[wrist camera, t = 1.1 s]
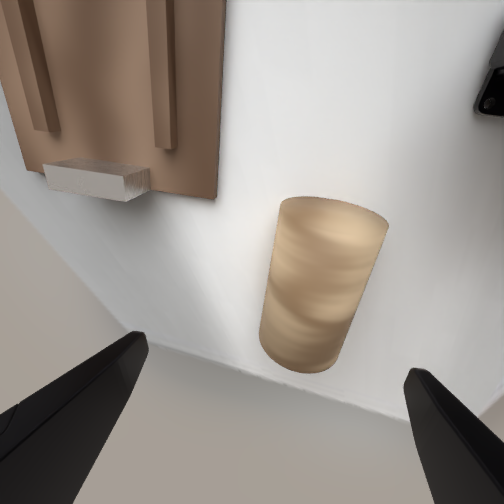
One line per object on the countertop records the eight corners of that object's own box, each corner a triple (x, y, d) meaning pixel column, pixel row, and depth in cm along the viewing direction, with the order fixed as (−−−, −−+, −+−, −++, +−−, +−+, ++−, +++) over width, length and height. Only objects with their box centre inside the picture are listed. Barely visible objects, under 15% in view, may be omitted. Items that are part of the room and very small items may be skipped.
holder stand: (234, -177, 11) (207, -309, 7) (216, 196, 18) (199, 213, 15) (-62, -187, 12) (-200, -306, 9) (36, 168, 19) (-18, 178, 16)
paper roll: (381, 208, 17) (398, 245, 12) (339, 323, 21) (338, 386, 16) (289, 191, 18) (269, 217, 13) (269, 303, 23) (248, 355, 18)
